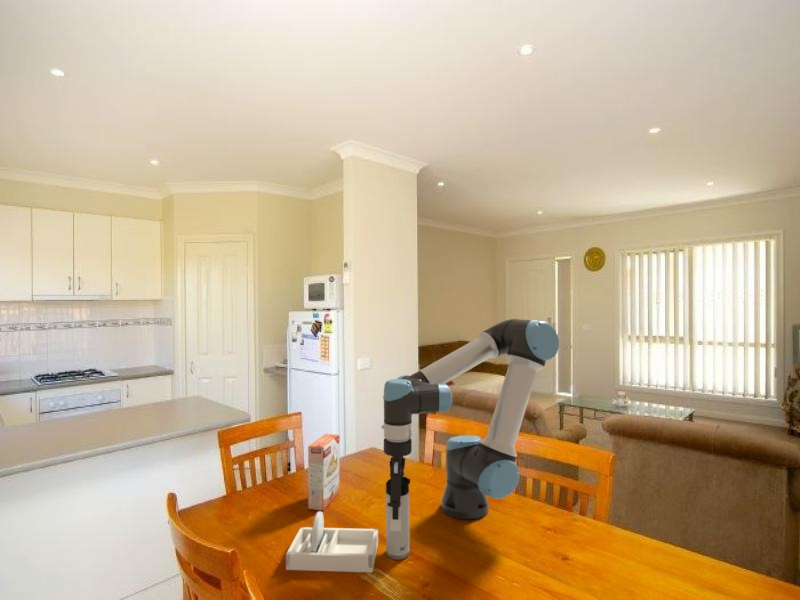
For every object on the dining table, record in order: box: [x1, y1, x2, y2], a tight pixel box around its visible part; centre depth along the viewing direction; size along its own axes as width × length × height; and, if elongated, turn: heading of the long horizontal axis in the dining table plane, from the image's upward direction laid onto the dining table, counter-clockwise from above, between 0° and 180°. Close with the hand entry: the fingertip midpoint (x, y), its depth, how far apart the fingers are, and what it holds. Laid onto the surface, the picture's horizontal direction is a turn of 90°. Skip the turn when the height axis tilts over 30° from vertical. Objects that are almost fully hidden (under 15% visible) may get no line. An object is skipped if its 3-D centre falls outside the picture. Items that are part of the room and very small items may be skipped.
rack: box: [285, 511, 379, 573], centre depth 116 cm, size 22×13×11 cm, turn 87°
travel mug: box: [385, 476, 411, 561], centre depth 117 cm, size 6×7×20 cm
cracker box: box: [307, 433, 340, 512], centre depth 147 cm, size 14×6×21 cm, turn 166°
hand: (397, 517), depth 117 cm, fingers open, 13 cm apart
